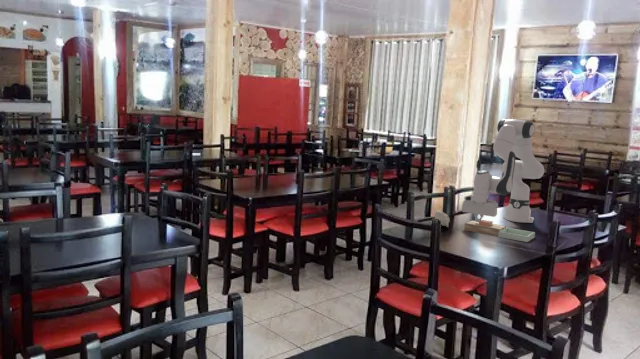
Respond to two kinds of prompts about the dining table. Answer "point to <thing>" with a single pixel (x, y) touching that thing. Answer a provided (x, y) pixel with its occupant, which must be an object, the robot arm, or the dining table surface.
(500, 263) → the dining table surface
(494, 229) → the board
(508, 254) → the dining table surface
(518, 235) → the tray
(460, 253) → the dining table surface
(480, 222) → the tile
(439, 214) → the cheese
